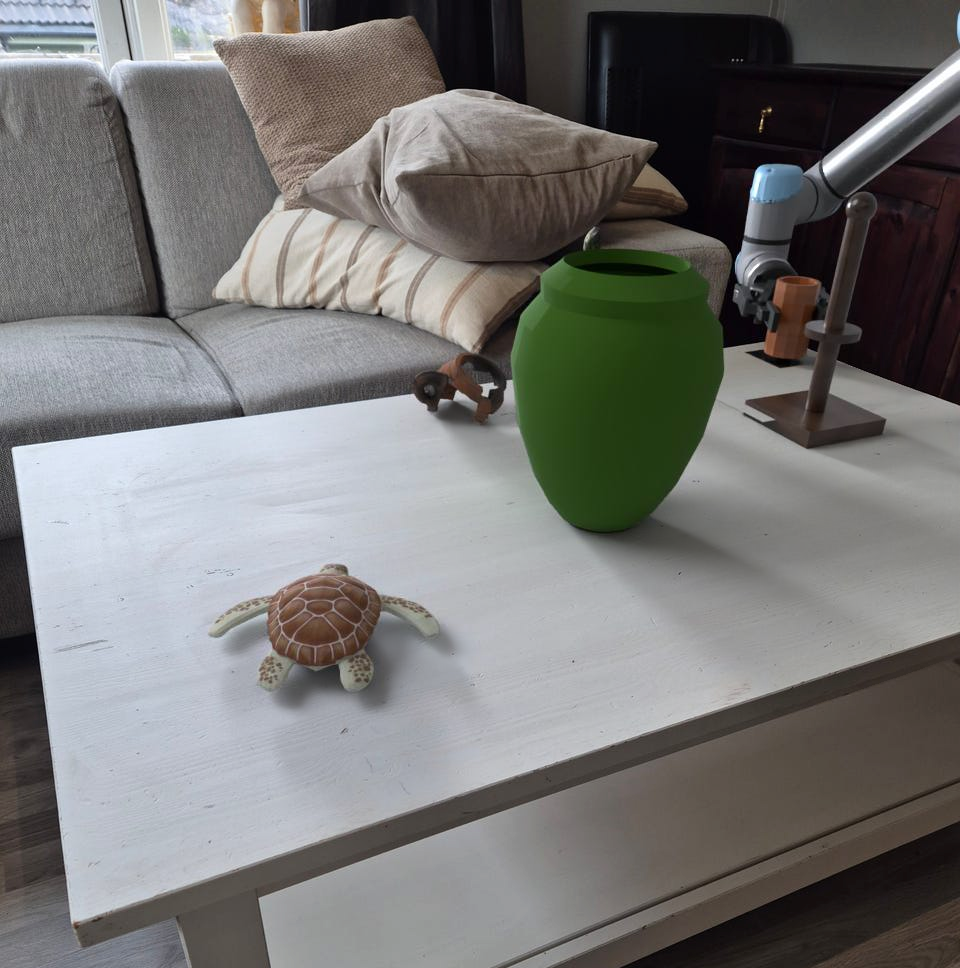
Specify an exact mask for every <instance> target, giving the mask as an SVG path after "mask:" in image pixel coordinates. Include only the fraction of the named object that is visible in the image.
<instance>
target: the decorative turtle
mask: <svg viewBox="0 0 960 968" xmlns="http://www.w3.org/2000/svg"><path fill="white" fill-rule="evenodd" d="M382 612H383V613H388V614H391V615H393V616H395V617H397V618H399V619H400V620H402V621H404V622H406V623H408V624H409V625H411V626H414V628H416V629H417V630H418V631H419V632H420V633H421V634H422V635H423V637H425V638H426V639H429V640H431V639H435V638H437V637H439V635H440V633H441V628H440V627H441V626H440V624H439V621H438V620H437V618H436V617H435V616H434V615H433V613H431V612H430V611H429V610H428V609H427V608H425V607H424V606H423V605H421V604H419V603H418V602H415V601H412V600H411V599H407V598H401V597H397V596H391V595H384V594H379V593H378V592H377V590H376V589H375V588H374V587H372V586H371V585H369V584H367V583H365V582H364V581H362V580H360V579H359V578H357V577H354V576H353V575H349V568H348V567H347V566H346V564H345V565H344V564H342V563H327V564H324V565H323V566H321V567H320V569H319V572H318V573H317V574H310V575H307V576H303V577H301V578H298V579H296V580H294V581H292V582H291V583H289V584H287V585H285V586H284V587H281V588H280V589H279V590H278V591H277V592H276V593H275V594H272V595H265V596H260V597H256V598H252V599H248V600H245V601H243V602H240V603H238V604H236V605H234V606H233V607H231V608H229V609H228V610H226V611H225V612H224V613H222V614H221V615H220V616H219V617H218V618H216V619H215V620H214V621H213V623H212V624H211V625H210V627H209V628H208V631H207V636H209V637H210V638H214V639H219V638H222V637H223V636H224V635H226V633H228V632H229V631H230V630H232V629H233V628H236V627H238V626H240V625H242V624H244V623H246V622H249V621H250V620H253V619H254V618H256V617H258V616H261V615H264V614H266V613H267V620H266V626H267V630H266V631H267V635H268V641H270V643H271V648H272V649H271V651H270V652H269V653H268V654H267V655H266V657H265V658H264V659H263V660H262V661H261V663H260V664H259V666H258V668H257V670H256V681H257V683H258V686H259V687H260V688H261V689H262V690H264V691H267V692H277V691H279V690H281V688H282V686H283V685H284V684H285V683H286V681H287V679H288V677H289V674H290V671H291V670H292V668H293V667H294V665H300V666H302V667H305V668H307V669H309V670H312V671H314V672H318V671H319V672H320V671H321V670H324V669H326V668H329V667H331V666H334V665H338V669H339V676H340V677H339V678H340V682H341V684H342V687H343V688H344V690H345V691H348V693H349V692H351V693H353V692H359V691H361V690H363V689H365V688H366V687H367V686H368V685H369V684H370V683H371V681H372V679H373V677H374V673H375V666H374V663H373V661H372V660H371V658H370V657H369V654H368V653H367V652H366V650H365V647H366V645H367V644H368V641H369V639H370V638H371V637H372V635H373V634H374V631H375V628H376V627H377V623H378V620H379V618H380V617H381V613H382Z"/></svg>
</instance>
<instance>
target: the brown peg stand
mask: <svg viewBox="0 0 960 968" xmlns="http://www.w3.org/2000/svg"><path fill="white" fill-rule="evenodd" d="M877 210H878V202H877V198H876V197H875V196H874V195H873V194H872V193H870V192H868V191H860V192H856V193H855V194H853V195H852V196H851V197H850V198H849V199H848V201H847V204H846V205H845V215H846V217H847V219H846V222H845V226H844V232H843V235H842V240H841V245H840V249H839V254H838V258H837V263H836V266H835V267H836V268H835V272H834V276H833V281H832V285H831V289H830V294H829V295H830V298H829V302H828V307H827V311H826V316H825V320H818V321H811V322H808V323H807V324H806V325H805V330H804V335H805V336H807V337H808V338H810V339H811V340H813V341H816V342H819V343H818V347H817V351H816V357H815V358H816V360H815V363H814V365H813V369H812V375H811V378H810V382H809V388H808V389H806V390H801V391H793V392H787V393H782V394H774V395H768V396H761V397H756V398H749V399H745V402H744V405H746V406H748V407H750V408H752V409H754V410H755V411H758V412H760V413H761V414H763V415H765V416H766V417H769V418H771V419H773V420H767V421H761V420H760V419H758V418H757V417H754V416H752V415H751V414H749V413H747V412H742V415H743V416H744V417H746V418H748V419H750V420H751V421H754V422H756V423H758V424H760V425H761V426H763V427H765V428H767V429H769V430H770V431H772V432H774V433H776V434H777V435H780V436H782V437H784V438H786V439H788V440H790V441H791V442H793V443H795V444H797V445H799V446H801V447H803V448H804V449H811V448H817V447H822V446H827V445H832V444H838V443H843V442H848V441H849V442H850V441H853V440H859V439H864V438H870V437H871V438H872V437H877V436H881V435H883V434H884V430H885V427H886V423H887V418H885V417H883V416H881V415H879V414H876V413H875V412H872V411H870V410H868V409H866V408H863V407H862V406H859V405H857V404H854V403H852V402H850V401H848V400H846V399H843V398H841V397H839V396H837V395H834V394H832V393H830V390H831V386H832V382H833V377H834V373H835V369H836V365H837V361H838V356H839V353H840V348H841V345H846V344H847V345H848V344H849V345H850V344H854V343H858V342H859V341H860V340H861V337H862V332H863V329H862V328H861V327H859V326H857V325H855V324H852V323H849V322H847V318H848V314H849V310H850V306H851V301H852V298H853V294H854V289H855V285H856V281H857V277H858V273H859V269H860V265H861V264H860V263H861V260H862V256H863V252H864V247H865V244H866V240H867V239H866V238H867V235H868V231H869V226H870V222H871V219H872V218H873V217H874V216H875V214H876V212H877Z"/></svg>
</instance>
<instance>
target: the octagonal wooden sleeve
mask: <svg viewBox="0 0 960 968" xmlns="http://www.w3.org/2000/svg"><path fill="white" fill-rule="evenodd" d="M821 287H822V282H821V281H820V280H818V279H816V278H812V277H807V276H799V275H798V276H786V277H780V278H778V279H777V282H776V287H775V293H774V298H773V303H774V305H775V306H776V308H777V309H778V310H779V312H780V316H779V321H778V327H777V332H776V333H771V332H770V331H769V329H768V328H767V331H766V336H765V342H764V346H763V349H764V352H765V353H766V354H768V355H770V356H773V357H778V358H784V359H797V358H803V357H804V356H805V355H807V352H808V348H809V344H810V339H811V338H808V337H807V336H805V335H804V330H805V325H806V324H807V323H808V322H811V321H813V320H814V316H815V311H816V306H817V302H818V297H819V292H820V288H821Z"/></svg>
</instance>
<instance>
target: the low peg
mask: <svg viewBox="0 0 960 968" xmlns="http://www.w3.org/2000/svg"><path fill="white" fill-rule="evenodd" d="M744 353H745V354H747V355H749V356H751V357H754V358H755V359H758V360H760V361H762V362H765V363H767V364H769V365H772V366H774V367H776V368H778V369H784V368H791V367H799V366H806V365H813V364H815V360H816V357H814V356H811V355H808V354H806V355H805V356H804V357H803V358H797V359H784V358H778V357H773V356H770V355H768V354H766V353H765V352H764V348H763V349H757V350H749V351H744Z"/></svg>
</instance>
